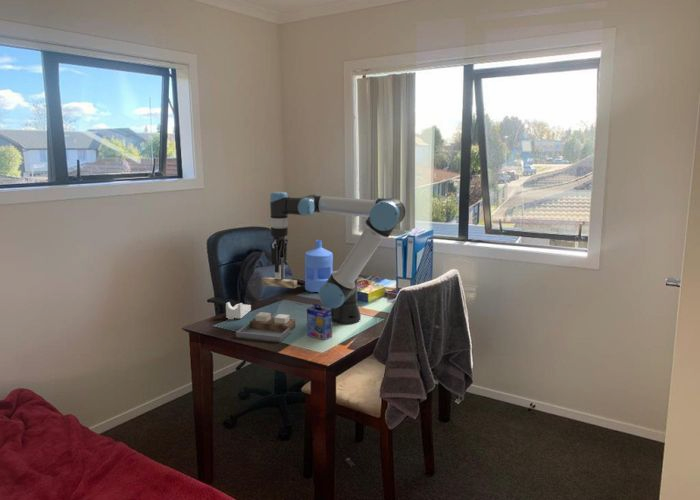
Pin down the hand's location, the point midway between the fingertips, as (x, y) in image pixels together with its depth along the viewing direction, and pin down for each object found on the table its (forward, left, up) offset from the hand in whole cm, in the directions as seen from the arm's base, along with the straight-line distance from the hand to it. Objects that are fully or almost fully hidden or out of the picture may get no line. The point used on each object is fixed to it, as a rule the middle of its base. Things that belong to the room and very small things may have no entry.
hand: (279, 277), depth 243 cm
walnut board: (0, +9, -21) cm, 23 cm away
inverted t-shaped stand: (0, 0, -4) cm, 4 cm away
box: (0, +19, -21) cm, 28 cm away
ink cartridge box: (-23, +13, -21) cm, 34 cm away
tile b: (+4, +9, -17) cm, 20 cm away
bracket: (+23, -3, -21) cm, 31 cm away
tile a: (-5, +9, -17) cm, 20 cm away
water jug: (+1, -57, -21) cm, 61 cm away
